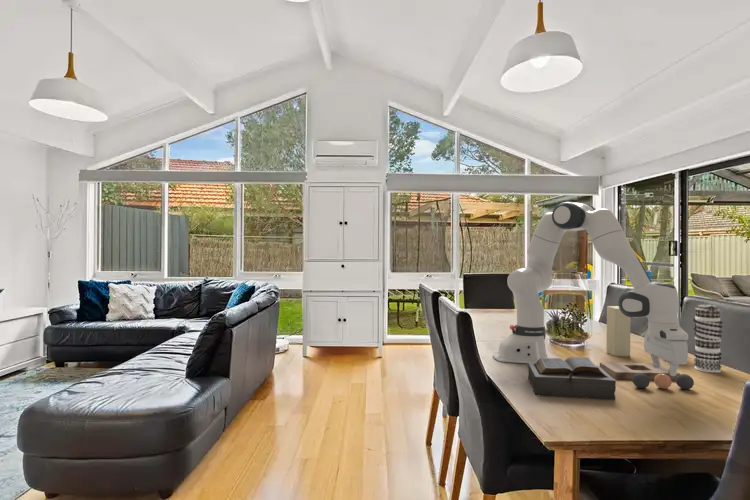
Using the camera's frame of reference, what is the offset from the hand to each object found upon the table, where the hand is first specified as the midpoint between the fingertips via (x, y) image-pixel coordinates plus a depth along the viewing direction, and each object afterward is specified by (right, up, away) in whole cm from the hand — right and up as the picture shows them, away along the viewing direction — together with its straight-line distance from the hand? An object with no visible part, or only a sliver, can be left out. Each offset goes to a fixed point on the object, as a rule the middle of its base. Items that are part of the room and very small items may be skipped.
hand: (664, 371), depth 151 cm
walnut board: (+1, -6, +17) cm, 18 cm away
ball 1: (-7, -3, +1) cm, 8 cm away
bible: (-32, -7, +1) cm, 33 cm away
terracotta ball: (0, -3, 0) cm, 3 cm away
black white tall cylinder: (+32, -6, +23) cm, 40 cm away
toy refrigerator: (+11, -6, +49) cm, 50 cm away
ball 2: (+7, -3, 0) cm, 7 cm away
